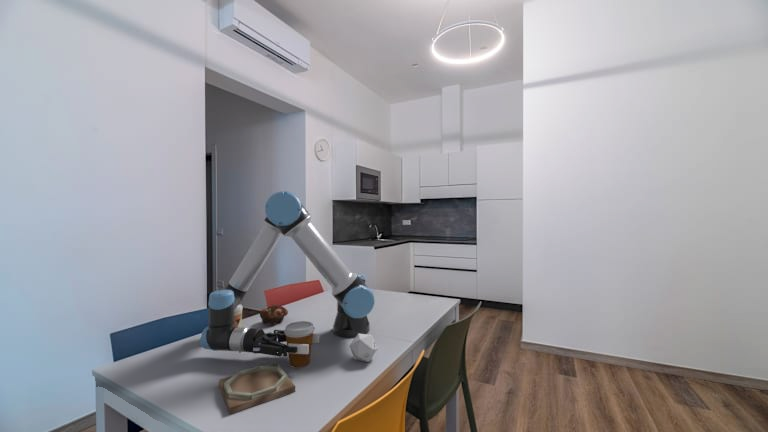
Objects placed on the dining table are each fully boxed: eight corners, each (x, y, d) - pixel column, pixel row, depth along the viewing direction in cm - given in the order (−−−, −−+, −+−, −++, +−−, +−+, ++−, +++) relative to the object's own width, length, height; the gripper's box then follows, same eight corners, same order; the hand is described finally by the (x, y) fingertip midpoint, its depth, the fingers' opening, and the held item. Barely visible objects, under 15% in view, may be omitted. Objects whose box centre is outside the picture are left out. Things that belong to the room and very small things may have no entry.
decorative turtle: (252, 327, 131) (252, 308, 132) (277, 319, 145) (277, 302, 146) (270, 329, 128) (270, 309, 128) (293, 320, 141) (293, 303, 142)
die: (359, 370, 95) (377, 343, 96) (340, 351, 99) (358, 326, 100) (368, 368, 102) (385, 343, 103) (350, 350, 106) (367, 327, 107)
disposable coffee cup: (306, 371, 93) (306, 332, 93) (278, 368, 95) (278, 329, 95) (319, 357, 102) (319, 321, 102) (293, 355, 104) (293, 320, 104)
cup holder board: (276, 368, 95) (276, 360, 95) (295, 391, 82) (295, 382, 82) (218, 385, 86) (218, 376, 86) (229, 414, 73) (229, 403, 73)
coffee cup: (219, 343, 114) (219, 311, 114) (213, 336, 121) (213, 306, 121) (245, 337, 120) (245, 306, 120) (238, 330, 127) (238, 302, 127)
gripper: (265, 338, 111) (324, 342, 108) (227, 366, 91) (300, 371, 87) (265, 318, 112) (324, 320, 108) (227, 340, 91) (299, 345, 87)
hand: (313, 343), depth 98 cm, fingers closed on disposable coffee cup, 8 cm apart
